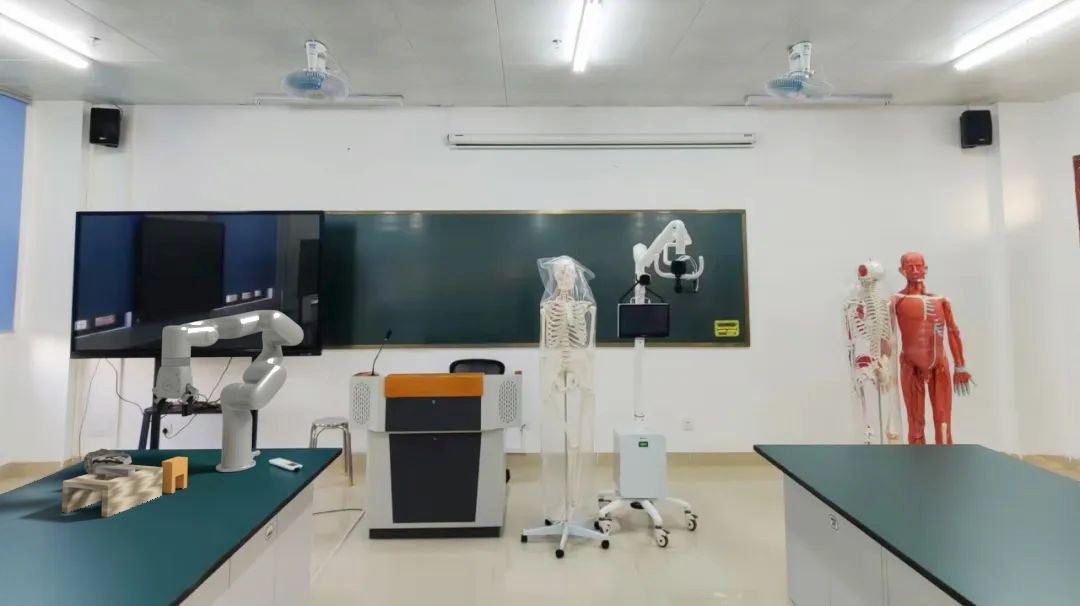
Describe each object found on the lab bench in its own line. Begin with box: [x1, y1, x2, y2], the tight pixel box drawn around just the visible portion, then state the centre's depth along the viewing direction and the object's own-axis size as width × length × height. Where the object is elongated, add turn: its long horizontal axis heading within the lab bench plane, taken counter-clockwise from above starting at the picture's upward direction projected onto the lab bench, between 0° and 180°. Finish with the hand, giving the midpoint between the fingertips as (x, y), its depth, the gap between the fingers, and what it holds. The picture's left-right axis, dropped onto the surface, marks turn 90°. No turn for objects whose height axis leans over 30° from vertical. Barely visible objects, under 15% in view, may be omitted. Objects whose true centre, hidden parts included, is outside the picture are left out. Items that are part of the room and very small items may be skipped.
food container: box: [90, 453, 133, 473], centre depth 157 cm, size 12×6×10 cm, turn 84°
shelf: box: [61, 464, 163, 518], centre depth 142 cm, size 16×16×11 cm
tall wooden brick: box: [161, 456, 189, 494], centre depth 154 cm, size 5×4×10 cm
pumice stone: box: [83, 448, 125, 474], centre depth 170 cm, size 14×12×8 cm
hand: (174, 415), depth 154 cm, fingers open, 9 cm apart
